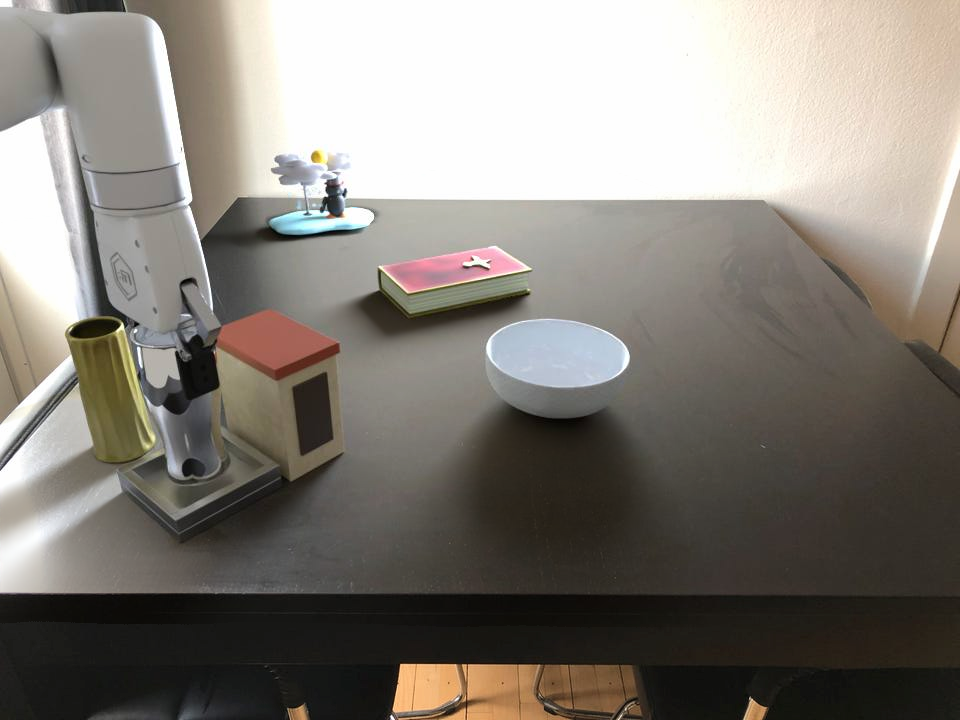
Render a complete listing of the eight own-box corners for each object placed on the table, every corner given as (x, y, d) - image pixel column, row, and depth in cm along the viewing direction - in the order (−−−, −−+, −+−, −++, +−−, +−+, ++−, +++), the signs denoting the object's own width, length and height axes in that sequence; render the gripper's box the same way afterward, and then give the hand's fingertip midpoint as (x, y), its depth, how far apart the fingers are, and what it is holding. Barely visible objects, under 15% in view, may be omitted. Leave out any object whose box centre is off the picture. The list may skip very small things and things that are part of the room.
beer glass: (214, 438, 76) (189, 305, 69) (249, 467, 72) (226, 330, 65) (148, 466, 72) (114, 328, 65) (180, 499, 68) (147, 356, 61)
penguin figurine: (370, 215, 150) (365, 138, 143) (380, 232, 141) (375, 151, 134) (268, 223, 144) (258, 144, 137) (271, 241, 135) (261, 158, 128)
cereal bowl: (592, 458, 79) (598, 402, 75) (458, 414, 86) (458, 361, 82) (643, 387, 92) (650, 337, 88) (523, 354, 99) (525, 306, 95)
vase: (131, 424, 83) (101, 309, 76) (168, 441, 80) (141, 323, 73) (81, 452, 78) (45, 332, 71) (119, 470, 76) (85, 347, 69)
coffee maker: (182, 545, 66) (153, 422, 60) (120, 490, 73) (88, 374, 67) (348, 451, 79) (339, 342, 73) (283, 411, 86) (269, 308, 79)
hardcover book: (378, 288, 117) (376, 264, 115) (493, 267, 126) (494, 243, 124) (408, 318, 108) (407, 291, 106) (530, 292, 117) (532, 267, 115)
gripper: (43, 173, 61) (94, 361, 70) (148, 219, 51) (192, 432, 60) (131, 157, 66) (168, 335, 75) (242, 197, 56) (271, 396, 65)
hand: (179, 377), depth 67 cm, fingers closed on beer glass, 7 cm apart
